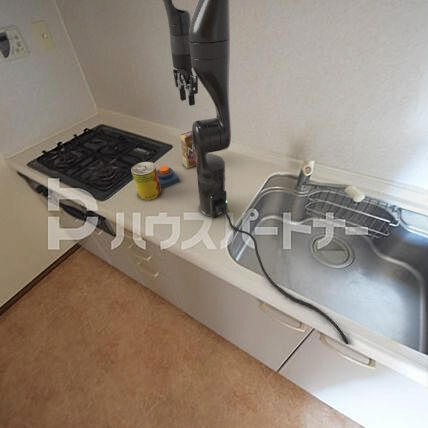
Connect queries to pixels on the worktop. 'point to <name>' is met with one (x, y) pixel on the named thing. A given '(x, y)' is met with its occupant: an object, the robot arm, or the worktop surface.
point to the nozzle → (164, 170)
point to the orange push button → (167, 178)
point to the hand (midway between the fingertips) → (187, 102)
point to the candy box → (188, 149)
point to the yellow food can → (146, 180)
